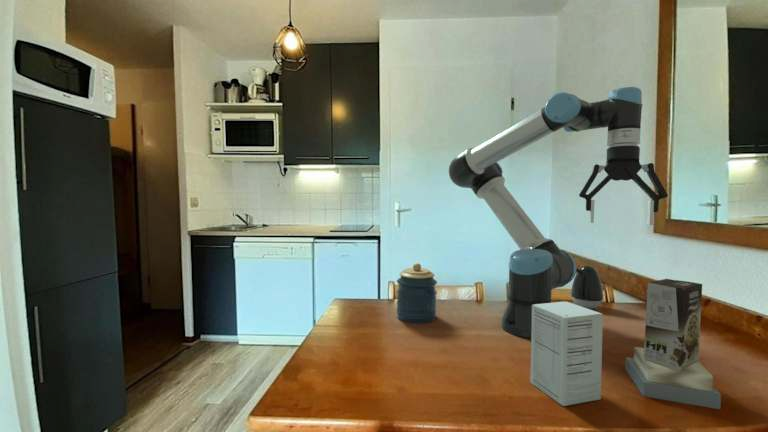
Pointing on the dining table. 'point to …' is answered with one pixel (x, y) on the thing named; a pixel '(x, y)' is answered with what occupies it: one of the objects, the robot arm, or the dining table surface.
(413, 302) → the canister
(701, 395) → the grey base slab
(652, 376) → the birch top slab
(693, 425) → the dining table surface
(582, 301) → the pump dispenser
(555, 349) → the supplement box
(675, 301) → the coffee box
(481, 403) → the dining table surface
